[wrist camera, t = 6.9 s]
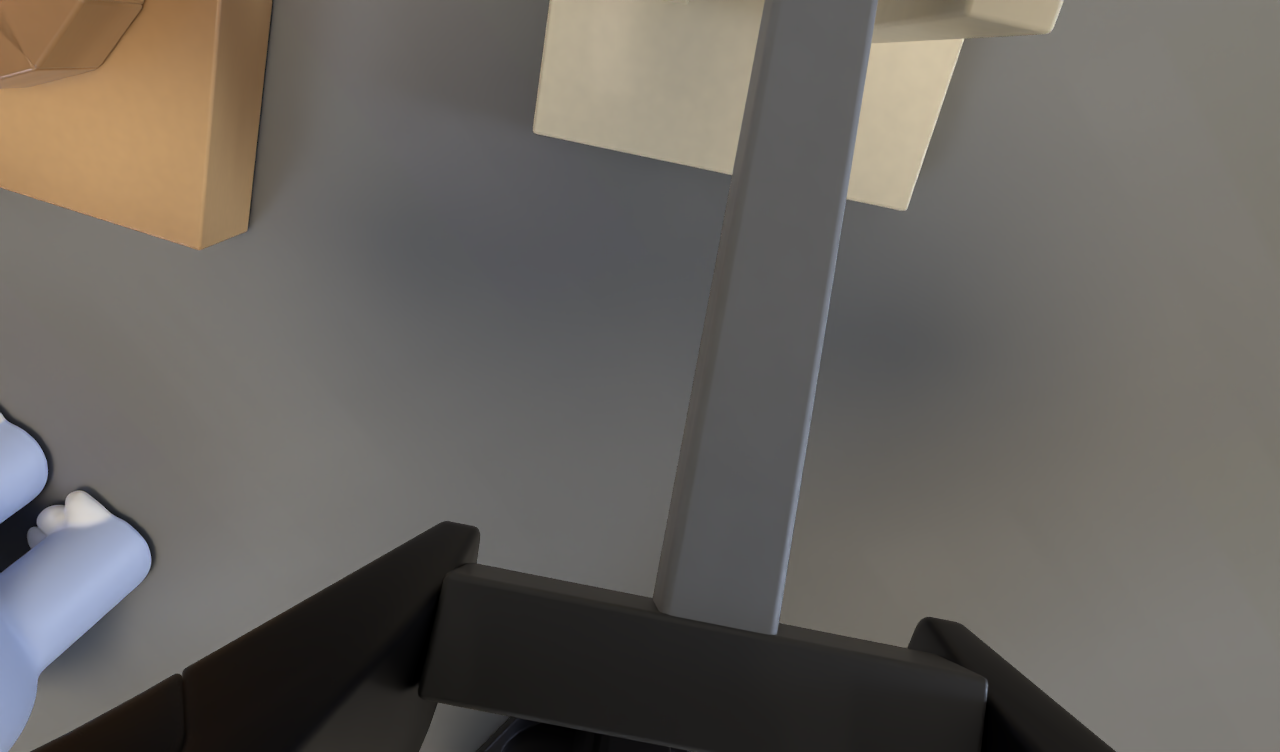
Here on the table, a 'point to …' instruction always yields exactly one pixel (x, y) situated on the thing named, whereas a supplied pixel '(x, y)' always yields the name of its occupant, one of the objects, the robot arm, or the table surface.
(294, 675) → the robot arm
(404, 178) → the table surface
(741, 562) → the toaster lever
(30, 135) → the button block
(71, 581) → the hippopotamus toy
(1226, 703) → the table surface
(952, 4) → the lever bracket
